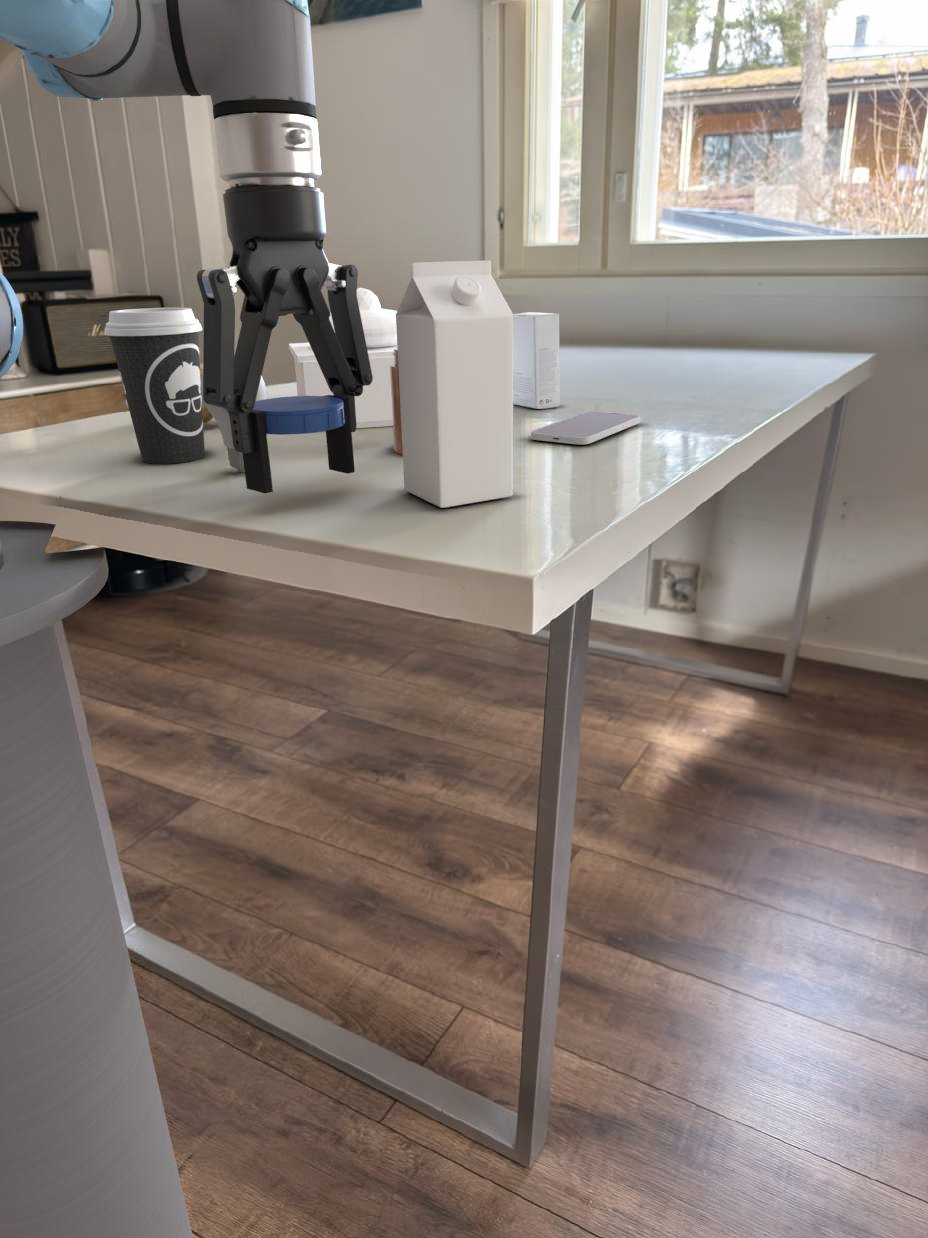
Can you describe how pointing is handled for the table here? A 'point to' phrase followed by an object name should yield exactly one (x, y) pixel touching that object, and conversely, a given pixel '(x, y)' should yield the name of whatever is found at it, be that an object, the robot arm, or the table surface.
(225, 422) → the lightbulb
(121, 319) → the coffee cup
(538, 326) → the cosmetic box
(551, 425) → the smartphone
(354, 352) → the robot arm
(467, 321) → the milk carton
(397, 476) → the table surface
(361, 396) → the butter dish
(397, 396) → the jar
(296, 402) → the jar lid
